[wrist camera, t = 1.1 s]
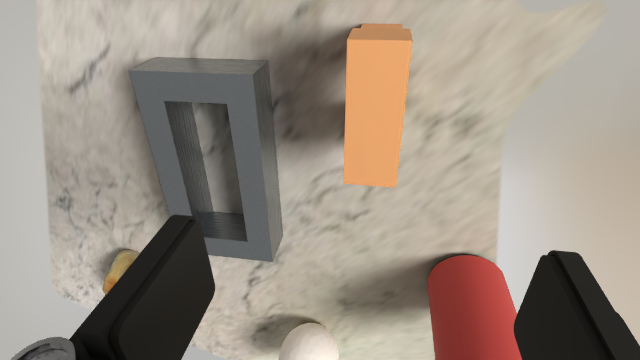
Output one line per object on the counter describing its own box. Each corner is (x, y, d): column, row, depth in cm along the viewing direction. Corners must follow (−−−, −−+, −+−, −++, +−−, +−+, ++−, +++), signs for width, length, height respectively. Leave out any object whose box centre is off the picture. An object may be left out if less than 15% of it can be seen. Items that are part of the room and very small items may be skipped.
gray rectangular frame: (156, 57, 27) (128, 70, 24) (268, 60, 26) (252, 74, 23) (197, 227, 36) (180, 251, 33) (283, 235, 35) (273, 262, 32)
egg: (320, 351, 43) (308, 421, 37) (278, 326, 42) (257, 393, 36) (353, 329, 40) (346, 401, 34) (308, 301, 39) (292, 370, 33)
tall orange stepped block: (358, 15, 24) (347, 39, 17) (406, 15, 23) (412, 40, 17) (354, 130, 28) (343, 183, 22) (394, 132, 27) (396, 187, 21)
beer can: (422, 298, 36) (434, 433, 26) (432, 247, 33) (450, 380, 22) (493, 306, 35) (534, 450, 25) (511, 255, 32) (568, 397, 22)
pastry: (206, 274, 40) (189, 303, 37) (194, 310, 43) (178, 339, 40) (122, 241, 39) (98, 267, 36) (117, 279, 43) (95, 306, 40)
